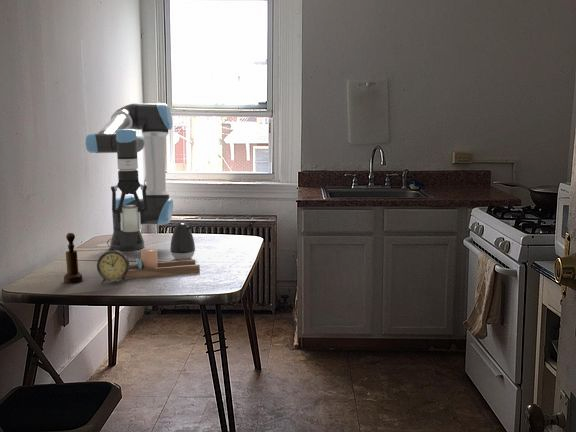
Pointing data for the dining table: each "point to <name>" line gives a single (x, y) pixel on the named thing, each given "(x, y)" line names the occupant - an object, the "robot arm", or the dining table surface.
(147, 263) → the jar in lane
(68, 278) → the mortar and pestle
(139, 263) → the pusher
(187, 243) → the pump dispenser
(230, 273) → the dining table surface
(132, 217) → the jar
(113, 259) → the alarm clock
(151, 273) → the lane
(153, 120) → the robot arm
